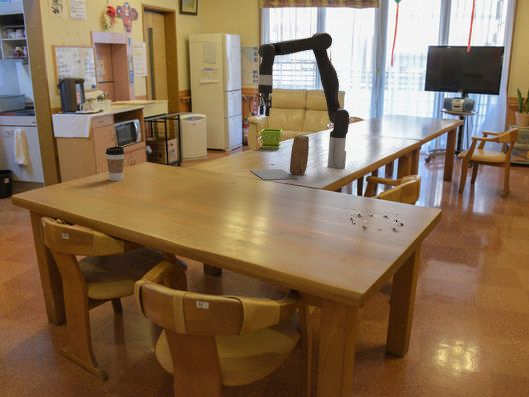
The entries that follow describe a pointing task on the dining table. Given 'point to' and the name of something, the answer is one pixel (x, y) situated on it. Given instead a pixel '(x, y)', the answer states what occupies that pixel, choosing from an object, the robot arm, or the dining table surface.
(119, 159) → the coffee cup
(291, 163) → the sandstone rock
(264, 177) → the mat
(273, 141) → the flower pot
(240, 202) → the dining table surface
